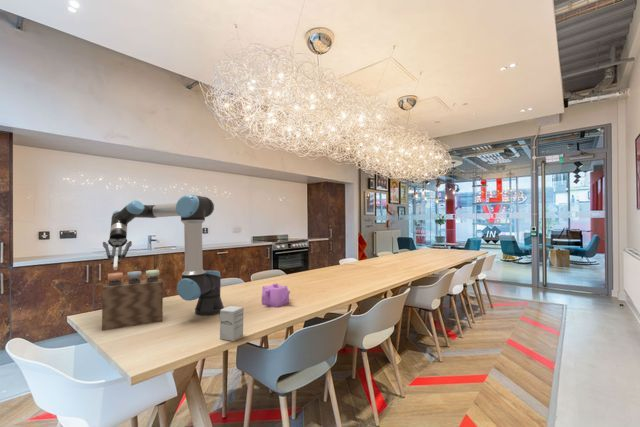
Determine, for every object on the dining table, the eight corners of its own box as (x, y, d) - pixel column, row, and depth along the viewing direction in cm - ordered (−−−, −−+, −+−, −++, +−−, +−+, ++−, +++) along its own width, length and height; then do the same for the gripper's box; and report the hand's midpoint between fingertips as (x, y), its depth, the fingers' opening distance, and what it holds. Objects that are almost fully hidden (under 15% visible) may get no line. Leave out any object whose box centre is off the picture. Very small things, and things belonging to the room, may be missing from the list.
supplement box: (219, 339, 127) (219, 309, 128) (230, 333, 134) (230, 305, 134) (233, 341, 124) (233, 311, 125) (243, 335, 131) (243, 306, 132)
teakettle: (261, 301, 189) (261, 281, 190) (288, 299, 192) (288, 280, 193) (261, 308, 172) (261, 287, 173) (290, 307, 176) (290, 286, 176)
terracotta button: (107, 283, 141) (107, 275, 141) (108, 281, 146) (108, 273, 147) (122, 281, 144) (122, 273, 144) (122, 279, 150) (123, 272, 150)
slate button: (127, 281, 145) (127, 273, 146) (127, 279, 151) (127, 271, 151) (141, 280, 148) (141, 272, 149) (141, 278, 154) (141, 270, 154)
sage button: (145, 279, 149) (146, 272, 150) (145, 277, 155) (145, 270, 155) (159, 278, 153) (159, 270, 153) (158, 276, 158) (159, 269, 158)
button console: (101, 330, 138) (102, 284, 139) (104, 324, 147) (105, 280, 147) (162, 321, 151) (162, 278, 152) (161, 315, 160) (161, 275, 160)
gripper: (132, 237, 166) (131, 271, 151) (104, 238, 159) (99, 274, 145) (132, 228, 162) (130, 262, 147) (103, 228, 155) (98, 264, 140)
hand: (115, 268), depth 146 cm, fingers closed
